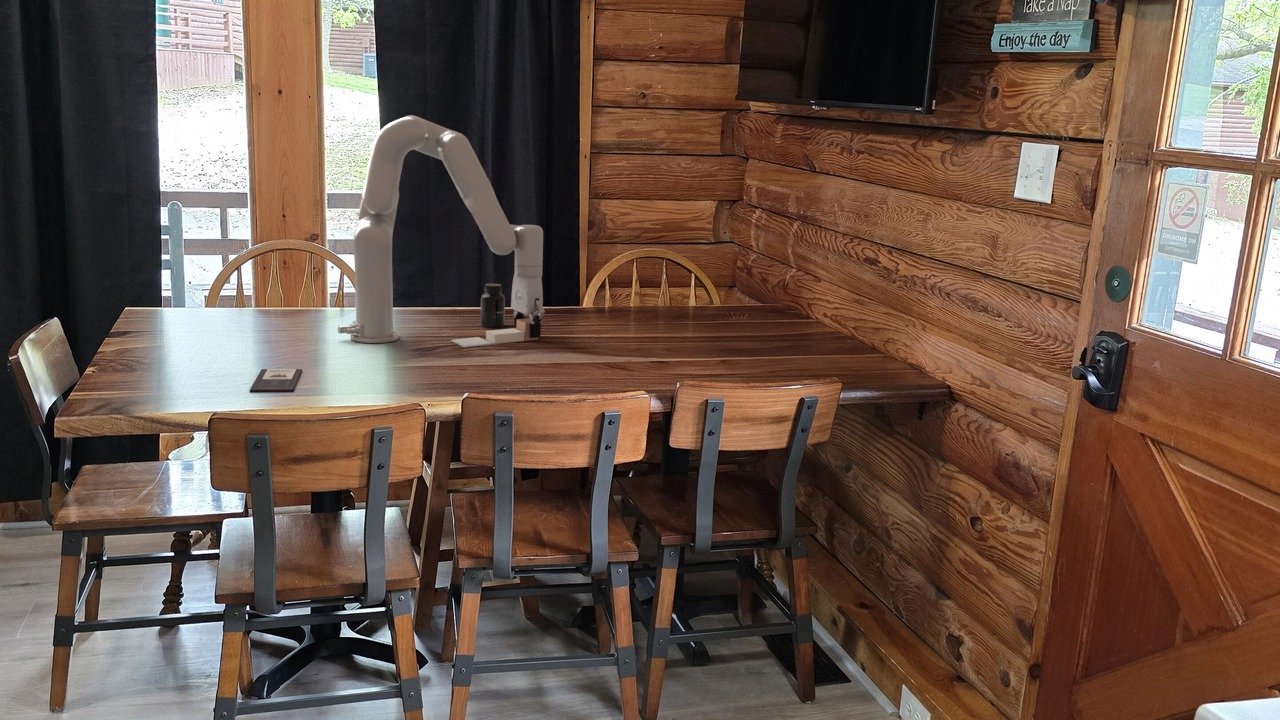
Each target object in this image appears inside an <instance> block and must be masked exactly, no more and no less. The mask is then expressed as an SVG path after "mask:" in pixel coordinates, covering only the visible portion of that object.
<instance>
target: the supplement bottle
mask: <svg viewBox="0 0 1280 720" xmlns="http://www.w3.org/2000/svg"><path fill="white" fill-rule="evenodd" d="M502 286H503V285H502V284H501V283H485V284H484V293H483V294H481V297H480V326H481V327H484V328H490V329H494V328H495V329H496V328H503V327H504V325H505V310H506V304H505V303H506V298H505V295H504V294H503V293H502V291H503V290H502V288H503V287H502Z"/></svg>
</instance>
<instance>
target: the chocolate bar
mask: <svg viewBox="0 0 1280 720" xmlns="http://www.w3.org/2000/svg"><path fill="white" fill-rule="evenodd" d="M302 372H303V368H261V370H260V371H259V373H258V375H256V378H255V379H254V382H253V384H252V385H251V387H250V389H249V393H295V392H294V391H295V389H296V387H297V384H298V383H299V380H300V377H301V375H302Z"/></svg>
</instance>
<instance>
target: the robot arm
mask: <svg viewBox="0 0 1280 720" xmlns="http://www.w3.org/2000/svg"><path fill="white" fill-rule="evenodd" d="M413 150H415V151H416V152H420V153H421V154H424V155H427V156H430V157H433V158H435V159H438V160H441V161H442V164H443V165H444V167H445V169H446V170H447V172H448V174H449V176H450V178H451V180H452V182H453V183H454V186H455V188H456V190H457V191H458V194H459V196H460V198H461V199H462V201H463V203H464V205H465V206H466V208H467V209H468V211H469V212H470V214H471V215H472V217H473V218H474V221H475V222H476V224H477V226H478V228H479V230H480V232H481V234H482V235H483V238H484V240H485V242H486V243H487V246H488V248H489V249H490V251H492V253H494V254H496V255H498V256H505V255H509V254H511V253H512V252H513V251H514V273H513V279H512V285H511V286H512V287H511V295H510V296H511V297H510V298H511V300H510V307H511V309H512V310H513V319H514V320H513V322H514V323H513V328H516V325H517V319H526V316H525V315H528V316H529V318H530V320H531V323H530V327H529V337H530V338H538V339H539V338H541V335H542V333H541V331H542V330H541V328H542V326H541V325H542V323H543V319H544V315H545V313H546V310H545V309H544V307H543V303H544V297H543V295H544V293H543V292H544V291H543V280H542V278H543V260H544V257H543V256H544V255H543V253H544V230H543V228H542V227H541V226H539V225H535V224H521V225H518V224H510V223H509V220H508V219H507V216H506V214H505V213H504V210H503V209H502V206H501V205H500V203H499V199H498V198H497V196H496V193H495V191H494V188H493V186H492V183H491V181H490V179H489V177H488V176H487V174H486V172H485V170H484V168H483V166H482V164H481V162H480V160H479V158H478V156H477V154H476V152H475V150H474V148H473V147H472V145H471V143H470V141H469V139H468V138H467V136H466V135H464V134H463V133H460V132H458V131H456V130H452V129H450V128H448V127H447V128H446V127H445V126H442V125H439V124H436V123H435V122H431V121H429V120H427V119H424V118H421V117H420V116H416V115H406V116H404V117H401V118H399V119H395V120H394V121H392V122H389V123H387V124H386V125H385V126H383V128H381V129H380V130H379V131H378V133H377V134H376V136H375V138H374V140H373V142H372V145H371V149H370V153H369V158H368V163H367V168H366V173H365V178H364V179H365V180H364V184H363V187H362V190H361V199H360V204H359V212H358V216H357V217H358V218H357V224H356V228H355V231H354V234H353V255H354V281H355V282H354V283H355V284H354V285H355V320H353V321H352V323H350V324H349V325H340V326H338V327H337V333H338V334H346V335H350V336H349V337H350V339H351V341H353V342H356V343H357V342H358V343H364V344H384V343H391V342H395V341H398V340H399V339H400V334H399V332H397V331H395V330H394V311H393V310H394V306H393V305H394V304H393V303H394V301H393V299H394V294H393V293H394V291H393V285H394V284H393V234H394V227H395V223H396V216H397V210H398V204H399V199H400V190H399V187H400V181H401V174H402V170H403V164H404V159H405V157H406V156H407V154H408V153H409V152H410V151H413Z"/></svg>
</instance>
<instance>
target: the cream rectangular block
mask: <svg viewBox="0 0 1280 720" xmlns="http://www.w3.org/2000/svg"><path fill="white" fill-rule="evenodd" d="M485 340H486V341H488V342H490V343H492V344H494V345H495V344H496V345H498V344H506V343H507V344H508V343H515V342H516V343H517V342H524V331H522V330H519V329H517V328H514V327H511V328H502V329H494V330H492V329H491V330H485Z"/></svg>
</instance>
